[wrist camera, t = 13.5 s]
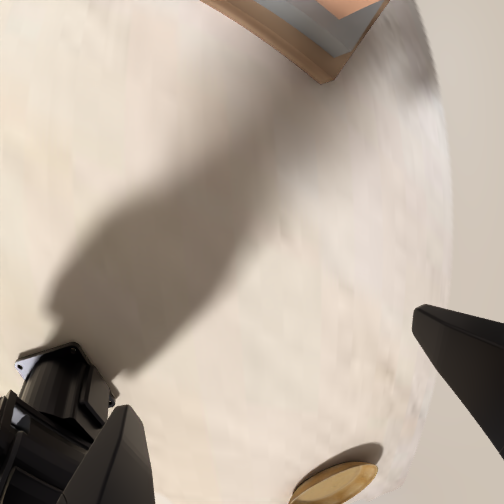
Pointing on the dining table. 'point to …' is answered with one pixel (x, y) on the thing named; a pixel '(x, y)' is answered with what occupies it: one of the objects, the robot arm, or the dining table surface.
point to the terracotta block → (344, 6)
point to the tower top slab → (324, 23)
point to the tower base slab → (287, 37)
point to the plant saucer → (335, 484)
